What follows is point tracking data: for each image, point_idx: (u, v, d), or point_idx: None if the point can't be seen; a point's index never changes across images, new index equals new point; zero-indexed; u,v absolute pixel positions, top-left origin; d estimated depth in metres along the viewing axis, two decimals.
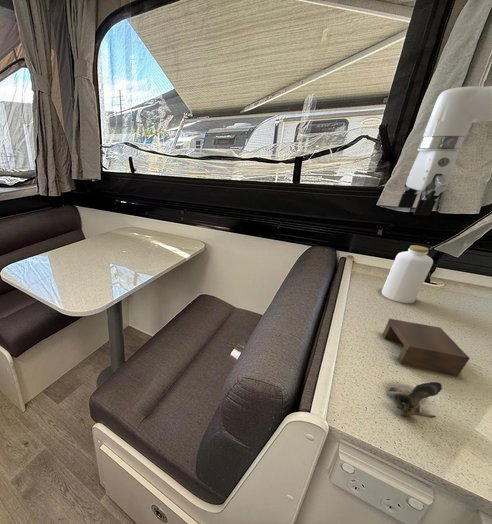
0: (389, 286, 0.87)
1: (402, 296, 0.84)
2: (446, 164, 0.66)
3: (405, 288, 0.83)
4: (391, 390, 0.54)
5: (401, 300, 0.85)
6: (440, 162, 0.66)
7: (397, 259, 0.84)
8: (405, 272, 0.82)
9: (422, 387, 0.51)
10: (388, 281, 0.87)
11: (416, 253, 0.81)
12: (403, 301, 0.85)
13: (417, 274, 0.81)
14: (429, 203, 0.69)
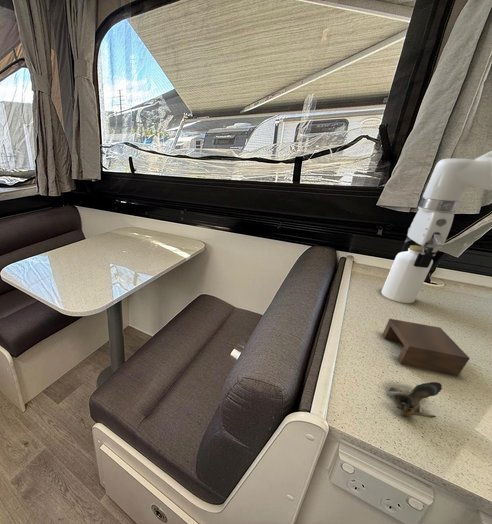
0: (389, 286, 0.87)
1: (402, 296, 0.84)
2: (443, 224, 0.74)
3: (405, 288, 0.83)
4: (391, 390, 0.54)
5: (401, 300, 0.85)
6: (438, 222, 0.74)
7: (397, 259, 0.84)
8: (405, 272, 0.82)
9: (422, 387, 0.51)
10: (388, 281, 0.87)
11: (415, 253, 0.81)
12: (403, 301, 0.85)
13: (417, 274, 0.81)
14: (427, 257, 0.77)
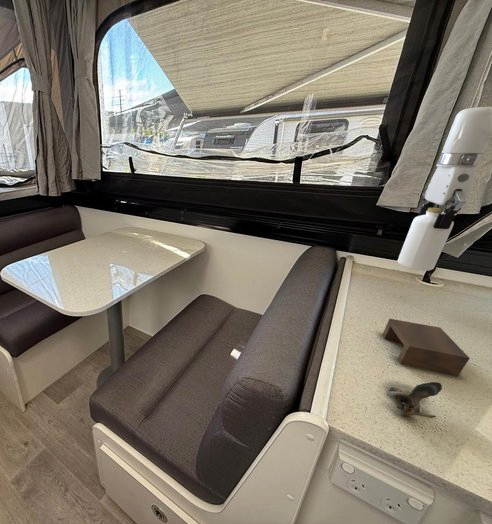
0: (406, 253, 0.82)
1: (420, 262, 0.79)
2: (466, 180, 0.69)
3: (424, 253, 0.78)
4: (391, 390, 0.54)
5: (419, 267, 0.80)
6: (460, 178, 0.69)
7: (414, 223, 0.79)
8: (423, 236, 0.77)
9: (422, 387, 0.51)
10: (405, 248, 0.82)
11: (435, 215, 0.76)
12: (422, 268, 0.80)
13: (437, 237, 0.76)
14: (448, 217, 0.72)
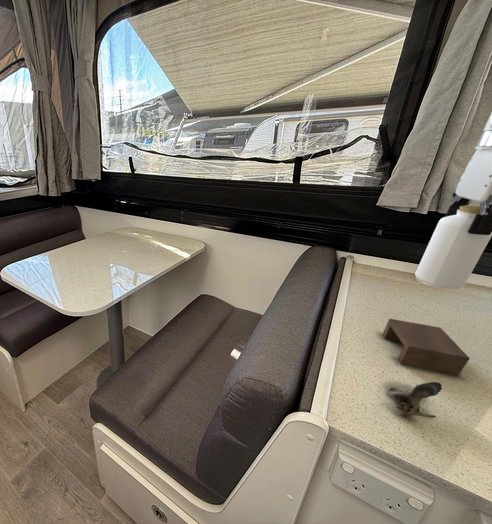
0: (427, 265, 0.62)
1: (447, 278, 0.60)
2: None
3: (452, 266, 0.59)
4: (391, 390, 0.54)
5: (445, 284, 0.61)
6: None
7: (440, 226, 0.60)
8: (453, 243, 0.58)
9: (422, 387, 0.51)
10: (426, 258, 0.63)
11: (469, 216, 0.57)
12: (448, 285, 0.60)
13: (472, 245, 0.56)
14: (491, 219, 0.53)
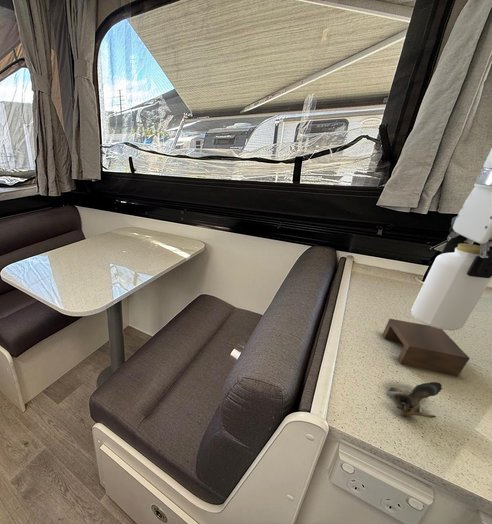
0: (424, 304, 0.59)
1: (445, 320, 0.56)
2: None
3: (450, 308, 0.55)
4: (391, 390, 0.54)
5: (443, 325, 0.57)
6: None
7: (437, 264, 0.56)
8: (451, 284, 0.54)
9: (422, 387, 0.51)
10: (422, 296, 0.59)
11: (468, 256, 0.53)
12: (446, 327, 0.57)
13: (471, 288, 0.53)
14: (491, 263, 0.49)
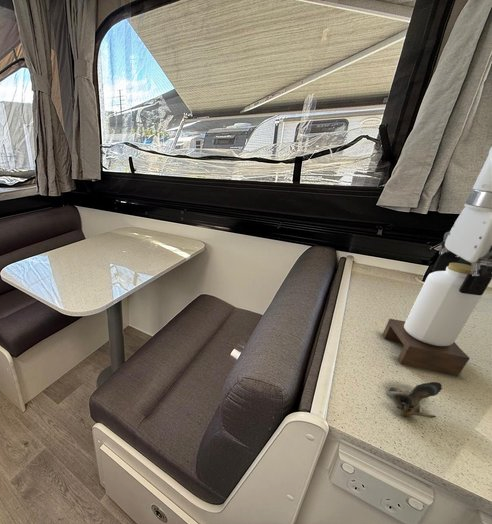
0: (416, 320, 0.61)
1: (436, 336, 0.58)
2: None
3: (441, 325, 0.57)
4: (391, 390, 0.54)
5: (434, 341, 0.59)
6: None
7: (429, 282, 0.58)
8: (442, 302, 0.56)
9: (422, 387, 0.51)
10: (415, 313, 0.61)
11: (459, 275, 0.55)
12: (437, 343, 0.59)
13: (461, 306, 0.54)
14: (482, 281, 0.50)
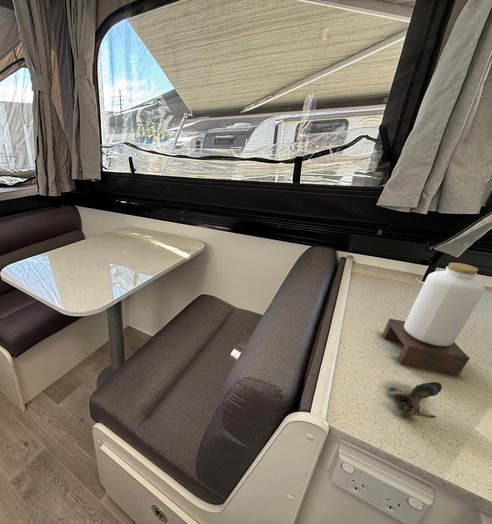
0: (416, 320, 0.61)
1: (436, 336, 0.58)
2: None
3: (441, 325, 0.57)
4: (391, 390, 0.54)
5: (434, 341, 0.59)
6: None
7: (429, 282, 0.58)
8: (442, 302, 0.56)
9: (422, 387, 0.51)
10: (415, 313, 0.61)
11: (458, 275, 0.55)
12: (437, 343, 0.59)
13: (461, 306, 0.54)
14: None
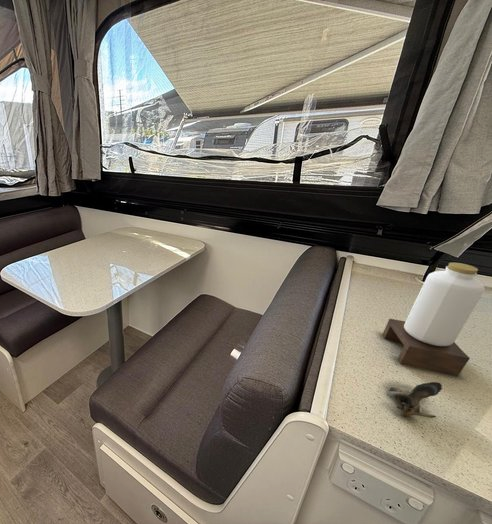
0: (416, 320, 0.61)
1: (436, 336, 0.58)
2: None
3: (441, 325, 0.57)
4: (391, 390, 0.54)
5: (434, 341, 0.59)
6: None
7: (429, 282, 0.58)
8: (442, 302, 0.56)
9: (422, 387, 0.51)
10: (414, 313, 0.61)
11: (458, 275, 0.55)
12: (437, 343, 0.59)
13: (461, 306, 0.54)
14: None
